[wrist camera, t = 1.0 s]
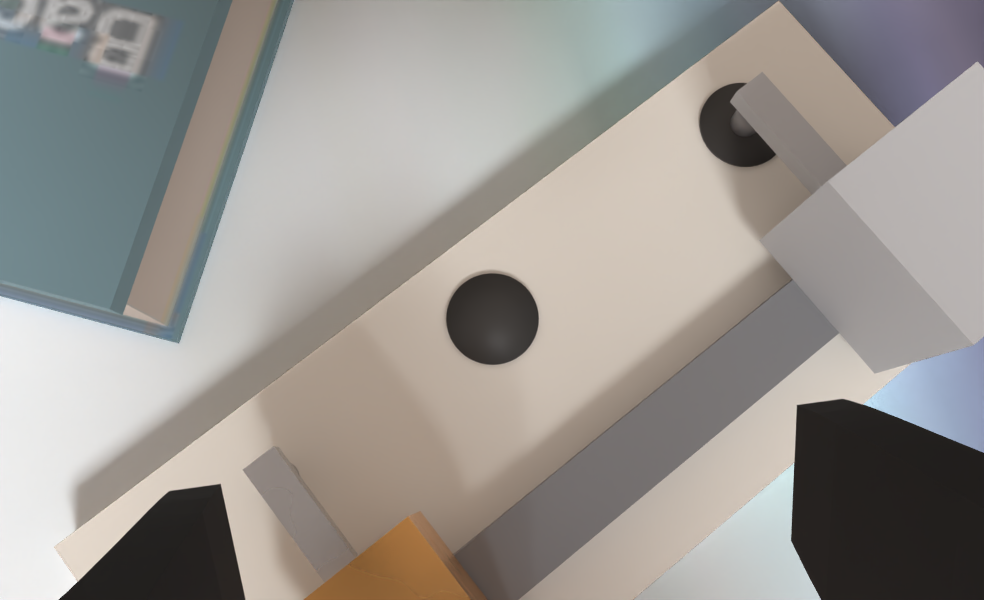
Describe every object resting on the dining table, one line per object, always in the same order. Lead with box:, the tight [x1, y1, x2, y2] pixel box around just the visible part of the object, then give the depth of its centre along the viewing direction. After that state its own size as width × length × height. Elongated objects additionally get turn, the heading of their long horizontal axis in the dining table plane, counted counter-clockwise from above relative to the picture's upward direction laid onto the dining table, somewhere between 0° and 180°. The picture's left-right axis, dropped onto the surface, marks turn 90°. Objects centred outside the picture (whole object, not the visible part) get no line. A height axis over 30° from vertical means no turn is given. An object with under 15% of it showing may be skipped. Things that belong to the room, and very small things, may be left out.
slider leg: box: [243, 446, 487, 600], centre depth 18 cm, size 4×7×5 cm, turn 38°
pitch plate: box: [54, 1, 984, 600], centre depth 20 cm, size 22×9×6 cm, turn 128°
